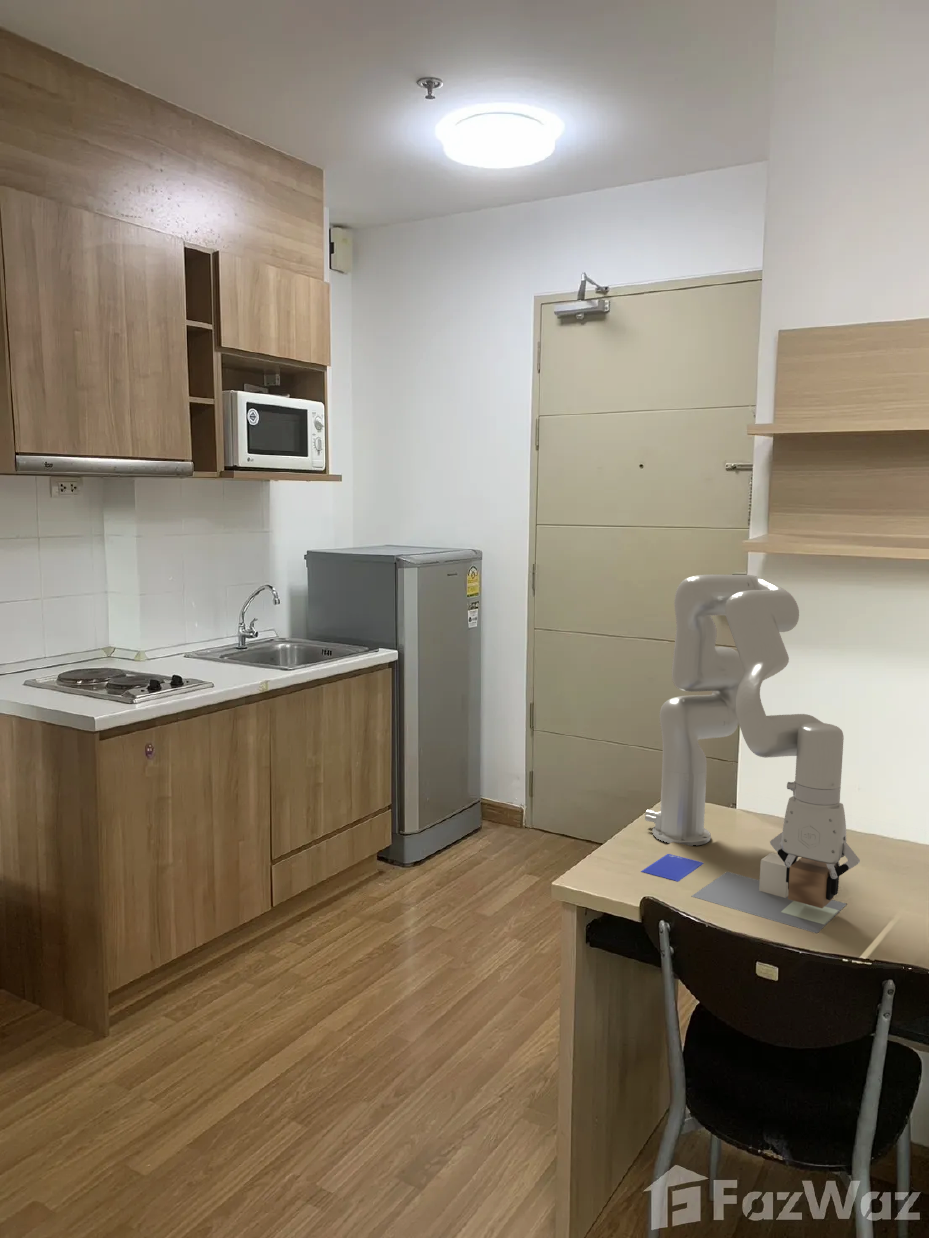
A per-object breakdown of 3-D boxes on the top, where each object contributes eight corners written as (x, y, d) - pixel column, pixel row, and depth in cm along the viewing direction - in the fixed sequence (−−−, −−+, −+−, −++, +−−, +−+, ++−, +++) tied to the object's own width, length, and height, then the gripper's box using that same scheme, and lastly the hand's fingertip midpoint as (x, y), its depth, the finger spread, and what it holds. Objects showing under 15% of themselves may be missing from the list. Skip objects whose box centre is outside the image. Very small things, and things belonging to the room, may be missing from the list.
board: (691, 900, 171) (691, 895, 171) (726, 875, 183) (727, 870, 183) (816, 937, 156) (817, 932, 156) (846, 907, 168) (847, 903, 168)
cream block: (759, 890, 174) (760, 859, 173) (769, 882, 178) (770, 852, 177) (785, 897, 171) (787, 866, 170) (795, 889, 174) (796, 859, 174)
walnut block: (787, 899, 164) (789, 866, 163) (799, 889, 169) (801, 857, 168) (822, 908, 160) (824, 875, 160) (833, 897, 165) (835, 865, 164)
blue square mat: (666, 852, 192) (639, 870, 182) (704, 862, 187) (678, 880, 177) (666, 860, 192) (639, 878, 182) (704, 869, 187) (678, 888, 177)
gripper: (761, 788, 165) (756, 886, 167) (861, 809, 154) (855, 912, 156) (776, 780, 171) (771, 874, 173) (874, 799, 160) (868, 899, 162)
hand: (811, 891), depth 164 cm, fingers closed on walnut block, 6 cm apart
